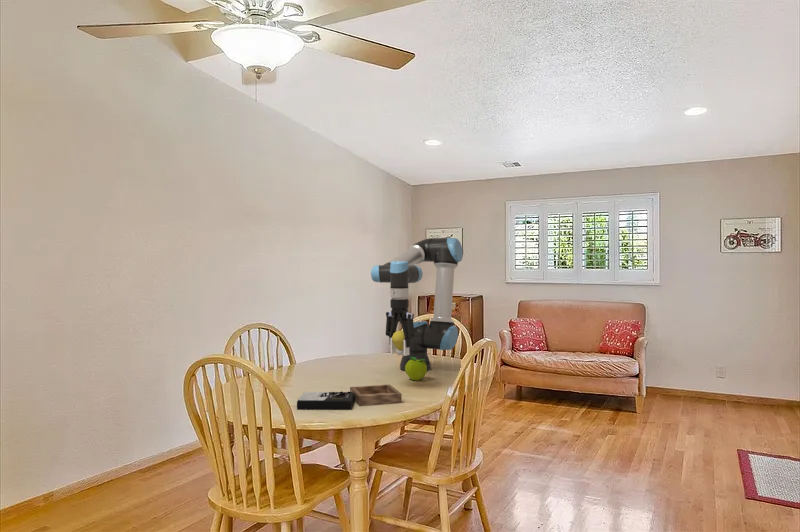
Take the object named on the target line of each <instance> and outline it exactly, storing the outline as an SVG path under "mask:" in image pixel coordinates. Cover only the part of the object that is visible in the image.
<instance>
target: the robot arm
mask: <svg viewBox="0 0 800 532" xmlns="http://www.w3.org/2000/svg"><path fill="white" fill-rule="evenodd" d="M463 251H464V250H463V246H462V243H461V242H460V240H459V239H458V238H456V237H436V238H434V237H428V238H425V239H423V240H422V239H421V240H420V241H418V242H415V243H413V244H411V245H410V246H409V247H408V248H407V250H406V251H404V252H402V253H401V254H399V255H398V256H396V257H394V258H392V259H391V260H389V261H388V262H385V263H384V264H382V265H381V264H378V265H376V264H375V265H374V266H373V267H371V271H370V277H371V280H372V281H373V282H375V283H380V284H381V283H383V284H384V283H385V284H387V283H389V284H390V285H389V286H390V290H389V291H390V292H389V293H390V302H389V303H390V308H391V310H390V311H387V312H385V316H386V317H385V318H386V323H385V336H388V338H389V345H390V355H391V354H397V352H396V350H397V348H396V347H395V345H394V343H393V341H392V336H393V334H394V333H395V332H396V331H397V328H398V325H399V324H400V325H401V328H402V331H403V332H404V336H405V339H404V348H403V350H404V352H403V355H401V360H400V362H399V369H400V370H402V371H404V372H406V371H405V366H406V364H407V362H408V361H409V360H411V359H412V358H409V357H415V358H416V359H417V360H420V359H424V360H423V361H424V362H425V363H426V366H427V371H430V370H431V369H432V367H431V366H432V365H431V360H430V357H429V356H428V349H431V350H441V351H451V350H452V349H454V347H455V345H456V344H457V342H458V338H459V331H458V330H459V329H458V327H457V326H456V325H455V321H454V320H453V319H452V312H453V295H454V283H455V282H454V278H455V269H456V268H457V267H458V264H459V263H460V262H462V261H463V257H464V255H463V254H464V252H463ZM422 262H423V263H424V262H426V263H427V262H429V263H430V262H432V263H433V266H434V267H435V268H436V270H435V271H436V273H435V275H436V276H435V287H434V288H435V289H434V303H433V317H432V318H431V319H430V320H429V324H428V321H427V320H419V321H414V317H415V314H414V313H411V312H409V309H408V308H409V307H410V306H409V305H410V301H409V296H410V295H409V288H410V287H409V284H416V283H418V282H420V281H421V280H422V278H423V270H422V268H421V267H420V266H419V265H418V264H421V263H422ZM425 360H426V361H425Z"/></svg>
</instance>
